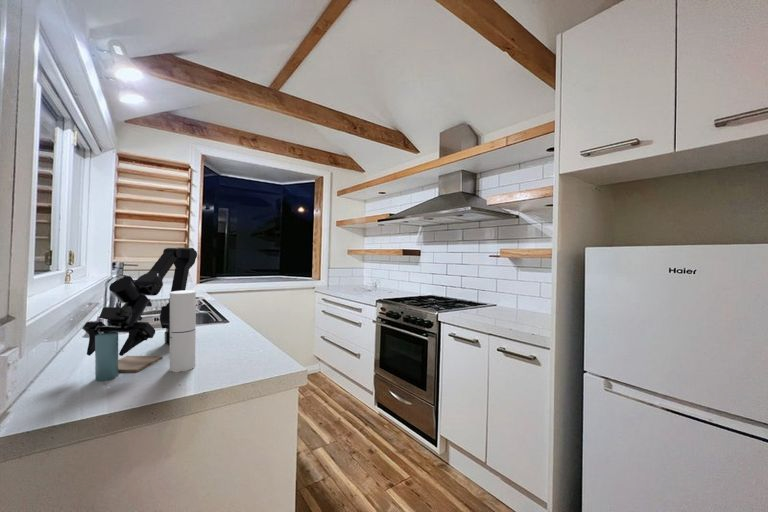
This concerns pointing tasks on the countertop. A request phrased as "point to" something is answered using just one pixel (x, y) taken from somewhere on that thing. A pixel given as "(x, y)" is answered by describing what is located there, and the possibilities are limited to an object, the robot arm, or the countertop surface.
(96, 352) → the cylinder
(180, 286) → the robot arm
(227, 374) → the countertop surface
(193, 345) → the cylindrical container
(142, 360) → the walnut board
